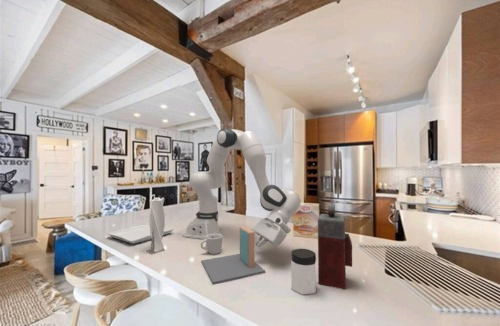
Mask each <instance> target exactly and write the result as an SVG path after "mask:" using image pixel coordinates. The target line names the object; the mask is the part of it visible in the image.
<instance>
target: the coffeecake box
mask: <svg viewBox="0 0 500 326" xmlns="http://www.w3.org/2000/svg"><path fill="white" fill-rule="evenodd" d="M319 216H320V203H314V202H313V203H311V202H301V204H300V206H299V208H298V210H297V211H296V212H295V214H294V215H293V216H292V218H293V219H292V224H293V225H292V226H293V227H292V228H293V230H292V231H293V233H292V234H293V237H298V238H308V239H316V240H318V219H319Z"/></svg>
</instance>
